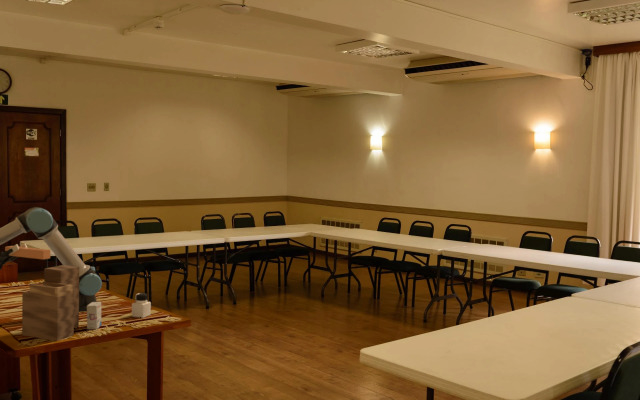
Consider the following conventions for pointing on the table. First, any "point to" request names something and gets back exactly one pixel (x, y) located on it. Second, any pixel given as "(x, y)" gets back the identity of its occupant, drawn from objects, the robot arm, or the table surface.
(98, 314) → the ink box
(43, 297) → the brown stepped wooden block
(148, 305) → the medicine bottle
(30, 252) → the block
